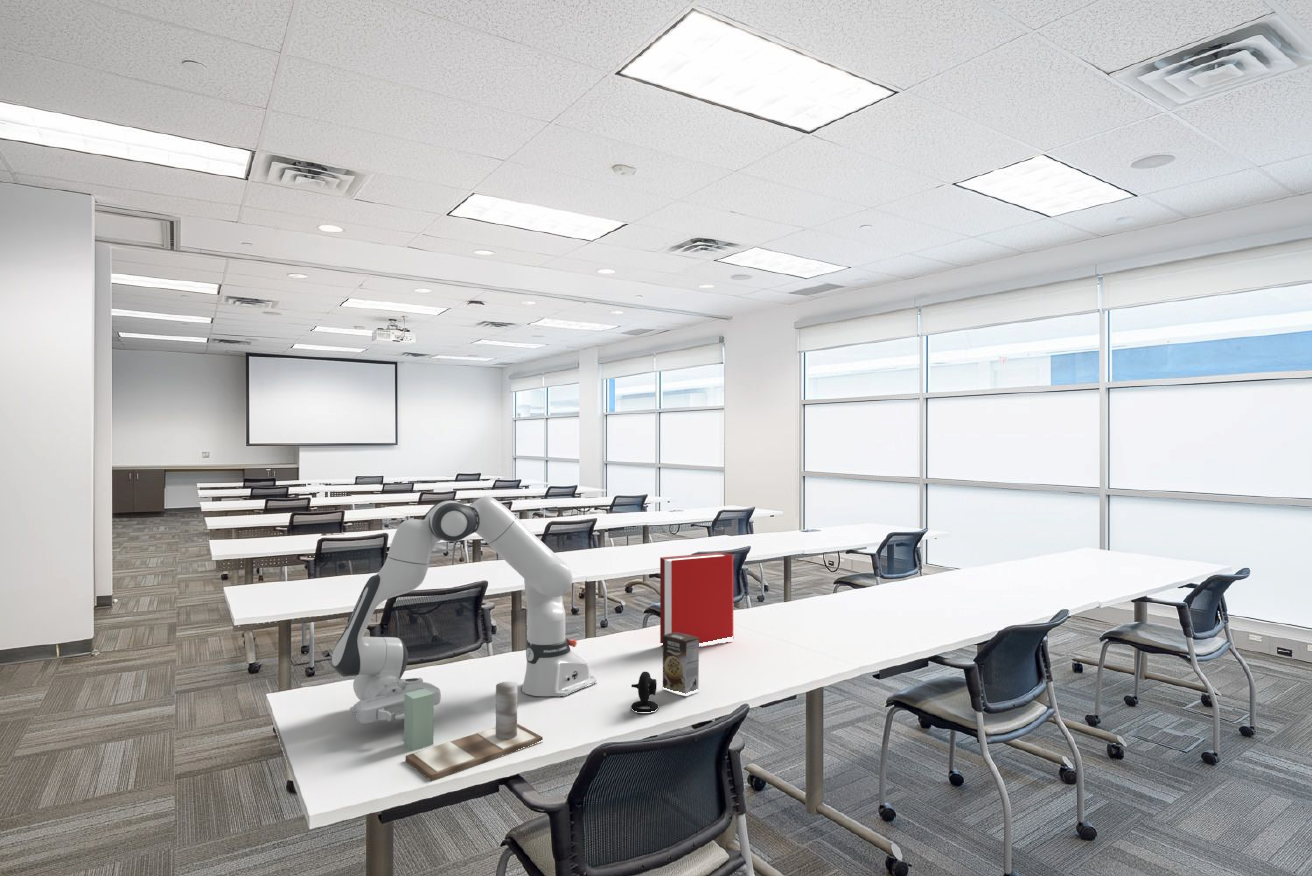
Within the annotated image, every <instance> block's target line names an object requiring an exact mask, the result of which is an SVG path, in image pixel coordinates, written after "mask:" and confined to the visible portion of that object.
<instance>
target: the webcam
mask: <svg viewBox="0 0 1312 876" xmlns="http://www.w3.org/2000/svg"><path fill="white" fill-rule="evenodd" d="M657 684H658V683H657V679H655V678H652V677H651V674H650V672H648V671H642V672H641V673H640V676H639V679H638V683H636V684H631V688H635V689H637V695H638V698H639V700H636V701H634V702H633V703H631V705H630V709H631V708H632V709H633V710H634V711H637V712H651V711H655V710H656V709H657V708H658V706H659V704H658V703H657V702H655V701H653V700H649V698H650V696H656V694H657ZM641 706H644V707H647V708H643V707H641ZM632 709H631V710H632ZM658 709H659V708H658Z"/></svg>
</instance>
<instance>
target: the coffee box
mask: <svg viewBox="0 0 1312 876" xmlns="http://www.w3.org/2000/svg"><path fill="white" fill-rule="evenodd" d="M699 655H700V648H699V637H695V636H691V635H687V634H683V633H679V632H674V633H669V634H666V635H663V646H662V688H663V687H664V688H667V689H670V690H673V691H679V692H682V693H685V694H686V693H688V692H690V691H694V690H696V689H698V690H699V686H700V685H699V681H700V680H699V674H700V673H699V671H700V670H699V663H700V662H699V661H700V656H699Z"/></svg>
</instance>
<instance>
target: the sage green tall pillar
mask: <svg viewBox="0 0 1312 876" xmlns="http://www.w3.org/2000/svg"><path fill="white" fill-rule="evenodd" d="M434 706H435V705H434V694H433V693H432V692H430V691H428V690H426V689H425V688H424V689H420V690H416V691H412V692H408V693H404V714H403V715H404V716H403V717H404V718H403V745H404V746H405V747H408V749H409V750H411V751H412V752H413V751H417V750H420V749H421V750H422V749H424V748H425V747H430V746H434V729H435V727H434V717H435V715H434V711H435V710H434ZM423 747H424V748H423Z"/></svg>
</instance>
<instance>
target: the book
mask: <svg viewBox="0 0 1312 876" xmlns="http://www.w3.org/2000/svg"><path fill="white" fill-rule="evenodd" d="M659 564H660V565H659V566H660V567H659V569H660V570H659V571H660V572H659V574H660V575H659V576H660V577H659V578H660V580H659V582H660V583H659V584H660V585H659V587H660V589H659V593H660V596H659V597H660V599H659V600H660V601H659V603H660V604H659V605H660V609H659V612H660V613H659V614H660V615H659V616H660V624H659V625H660V626H659V630H660V631H659V636H660V637H659V638H660V641H659V644H660V643H663V635H666V634H669V633H674V632H679V633H683V634H687V635H691V636H695V637H699V643H703V642H708V641H713V640H717V639H722V638H727V637H732V636H733V637H734V554H732V553H728V552H709V553H697V554H696V553H695V554H685V555H675V556H663V557H660V558H659Z"/></svg>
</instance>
